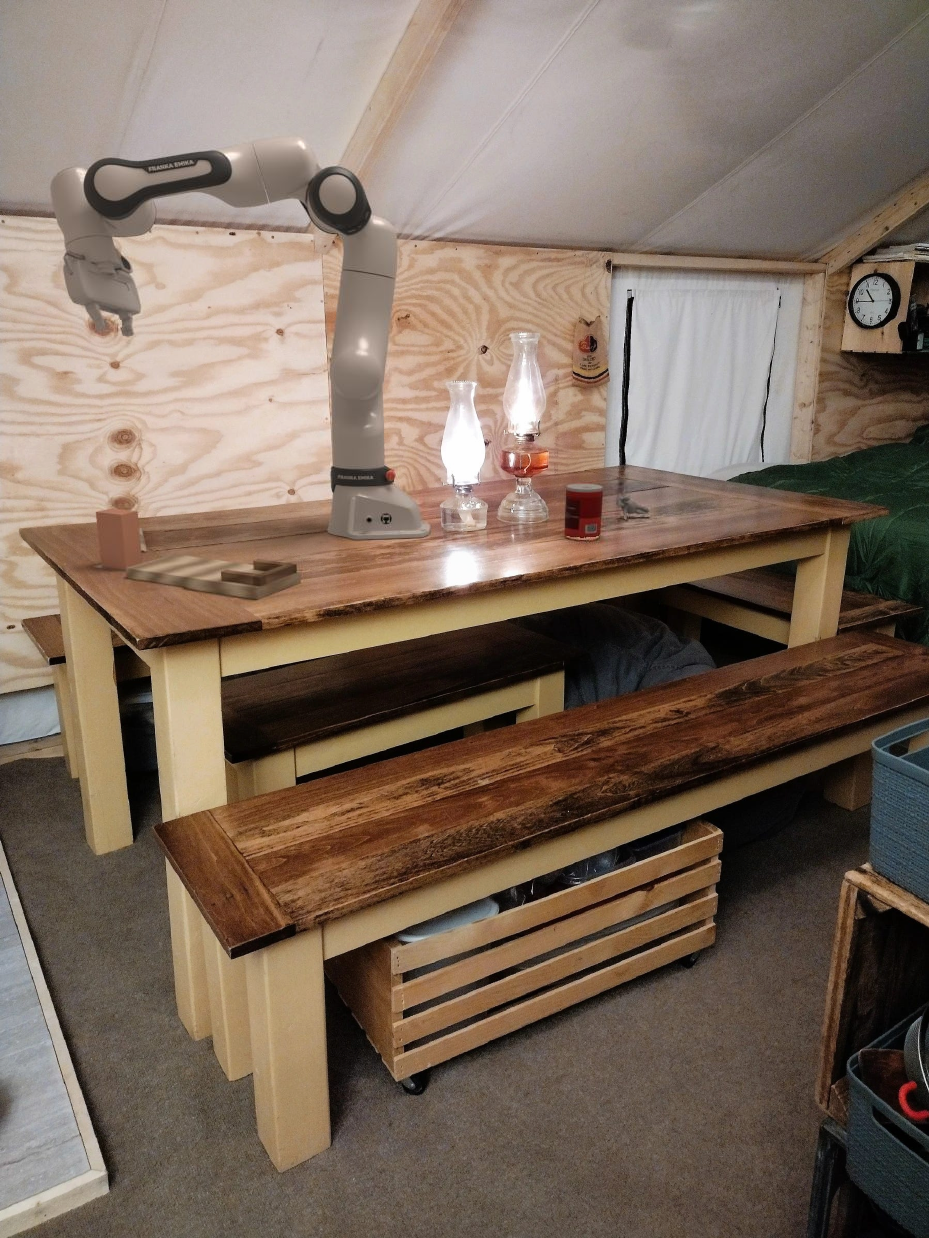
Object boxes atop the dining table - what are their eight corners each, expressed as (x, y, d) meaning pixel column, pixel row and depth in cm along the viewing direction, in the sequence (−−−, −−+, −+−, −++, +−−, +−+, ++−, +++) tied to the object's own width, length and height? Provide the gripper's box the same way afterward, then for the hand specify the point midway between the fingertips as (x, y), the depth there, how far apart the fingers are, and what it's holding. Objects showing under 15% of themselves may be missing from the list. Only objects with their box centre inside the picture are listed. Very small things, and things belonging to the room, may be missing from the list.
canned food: (604, 535, 200) (607, 485, 197) (593, 542, 194) (596, 490, 190) (571, 532, 204) (573, 482, 200) (559, 539, 197) (561, 487, 193)
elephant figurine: (656, 523, 216) (623, 510, 213) (642, 537, 221) (609, 525, 218) (654, 491, 222) (622, 478, 219) (641, 505, 226) (609, 493, 223)
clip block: (101, 566, 168) (95, 511, 165) (118, 561, 171) (112, 508, 168) (126, 570, 165) (120, 514, 163) (142, 565, 169) (137, 511, 166)
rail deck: (126, 579, 161) (124, 559, 160) (175, 564, 171) (173, 546, 170) (257, 599, 149) (256, 578, 148) (300, 582, 160) (299, 563, 159)
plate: (93, 568, 168) (93, 566, 167) (118, 561, 173) (118, 560, 173) (126, 573, 164) (126, 571, 164) (150, 566, 170) (150, 564, 169)
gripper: (77, 243, 165) (100, 320, 167) (135, 265, 185) (156, 334, 187) (46, 254, 166) (70, 330, 168) (108, 275, 186) (128, 343, 188)
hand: (115, 332), depth 177 cm, fingers open, 8 cm apart
